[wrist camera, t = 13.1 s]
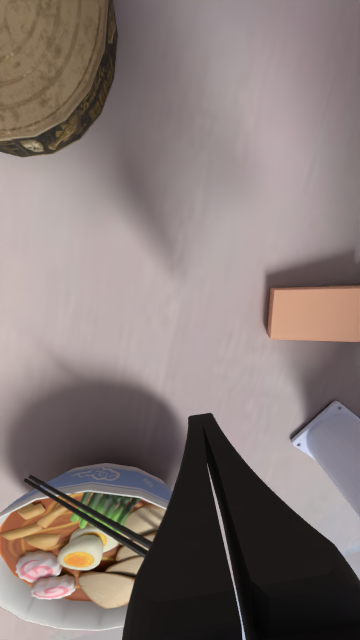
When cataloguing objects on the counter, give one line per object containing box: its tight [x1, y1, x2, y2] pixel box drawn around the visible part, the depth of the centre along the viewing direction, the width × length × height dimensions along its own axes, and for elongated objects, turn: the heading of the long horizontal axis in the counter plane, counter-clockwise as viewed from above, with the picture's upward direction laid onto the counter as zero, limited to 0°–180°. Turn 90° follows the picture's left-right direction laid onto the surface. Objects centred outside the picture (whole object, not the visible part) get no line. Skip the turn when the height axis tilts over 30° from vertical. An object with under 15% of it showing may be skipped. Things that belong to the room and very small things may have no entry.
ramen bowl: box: [0, 463, 173, 631], centre depth 22 cm, size 25×23×8 cm
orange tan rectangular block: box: [267, 286, 360, 342], centre depth 19 cm, size 2×5×9 cm
